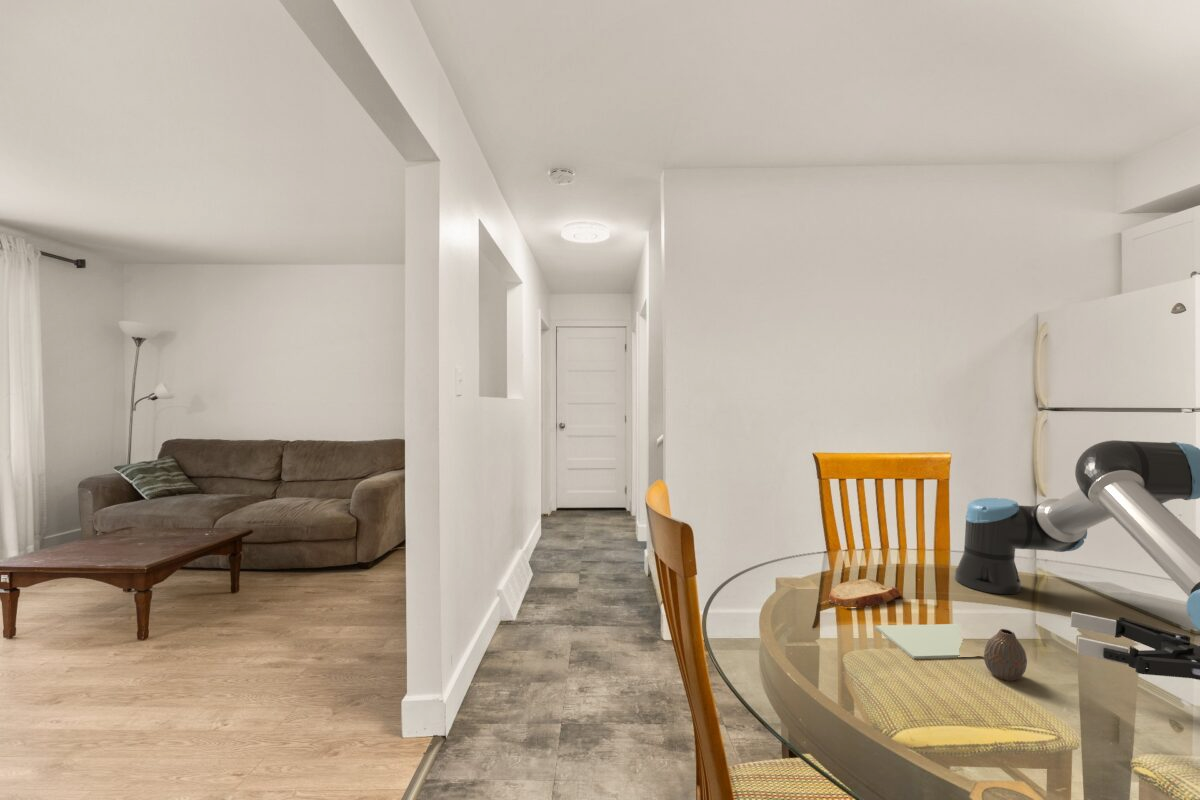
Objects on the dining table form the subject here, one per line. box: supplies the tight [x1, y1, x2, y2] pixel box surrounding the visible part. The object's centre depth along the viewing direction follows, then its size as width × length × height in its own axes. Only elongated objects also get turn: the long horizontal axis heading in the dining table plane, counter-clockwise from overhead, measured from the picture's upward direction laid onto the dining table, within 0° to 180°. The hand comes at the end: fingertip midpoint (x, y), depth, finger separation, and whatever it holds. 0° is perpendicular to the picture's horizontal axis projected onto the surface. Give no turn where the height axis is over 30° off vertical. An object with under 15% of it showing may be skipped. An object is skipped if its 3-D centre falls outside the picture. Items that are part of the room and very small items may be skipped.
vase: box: [983, 628, 1028, 682], centre depth 116 cm, size 7×7×9 cm
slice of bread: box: [828, 578, 901, 608], centre depth 153 cm, size 18×18×4 cm
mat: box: [874, 623, 963, 660], centre depth 130 cm, size 20×14×1 cm
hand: (1074, 631), depth 110 cm, fingers open, 13 cm apart
